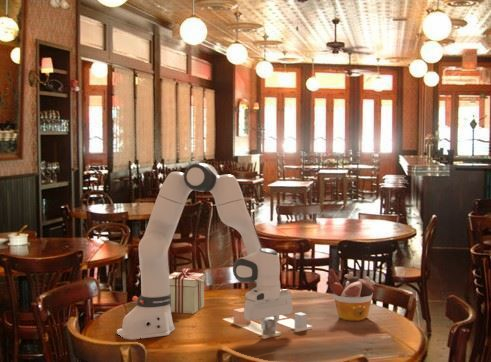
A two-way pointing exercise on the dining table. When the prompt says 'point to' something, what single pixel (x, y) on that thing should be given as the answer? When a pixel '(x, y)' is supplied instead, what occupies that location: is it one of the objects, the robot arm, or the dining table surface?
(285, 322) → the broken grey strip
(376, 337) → the dining table surface
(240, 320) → the terracotta block
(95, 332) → the dining table surface
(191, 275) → the gift box
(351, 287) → the bucket of meat
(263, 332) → the white long base
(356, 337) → the dining table surface
